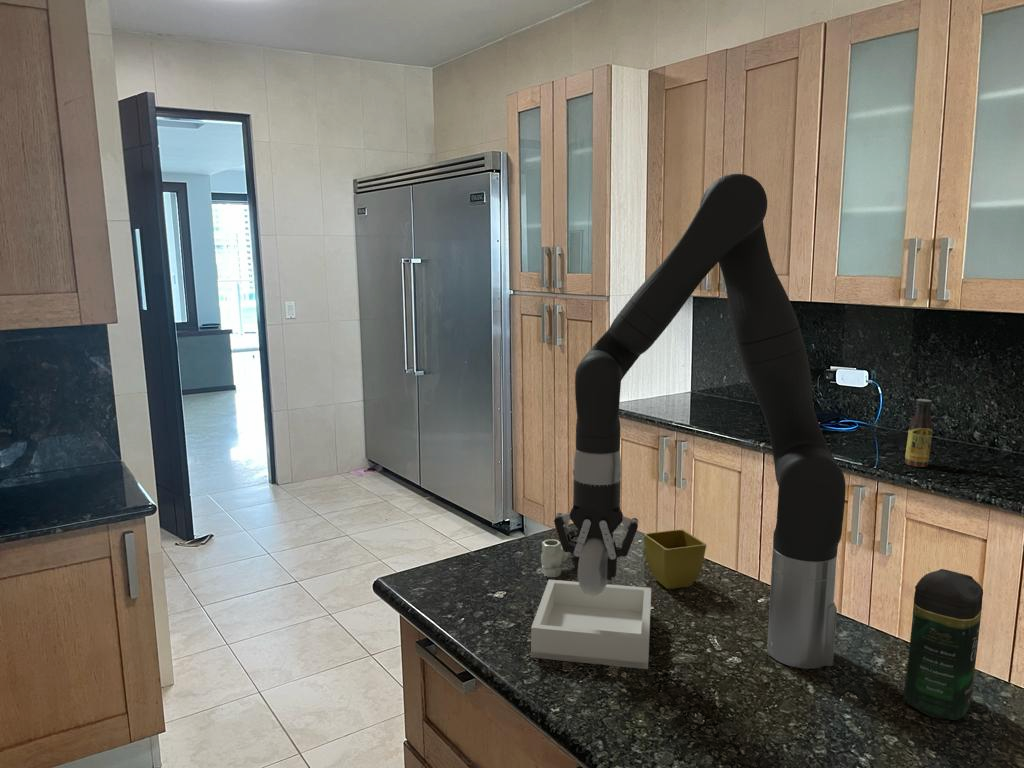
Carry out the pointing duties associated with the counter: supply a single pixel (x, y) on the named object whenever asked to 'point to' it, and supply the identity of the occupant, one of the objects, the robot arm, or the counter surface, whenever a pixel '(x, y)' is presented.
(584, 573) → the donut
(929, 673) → the coffee jar
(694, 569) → the flower pot
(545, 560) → the valve
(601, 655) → the tray
